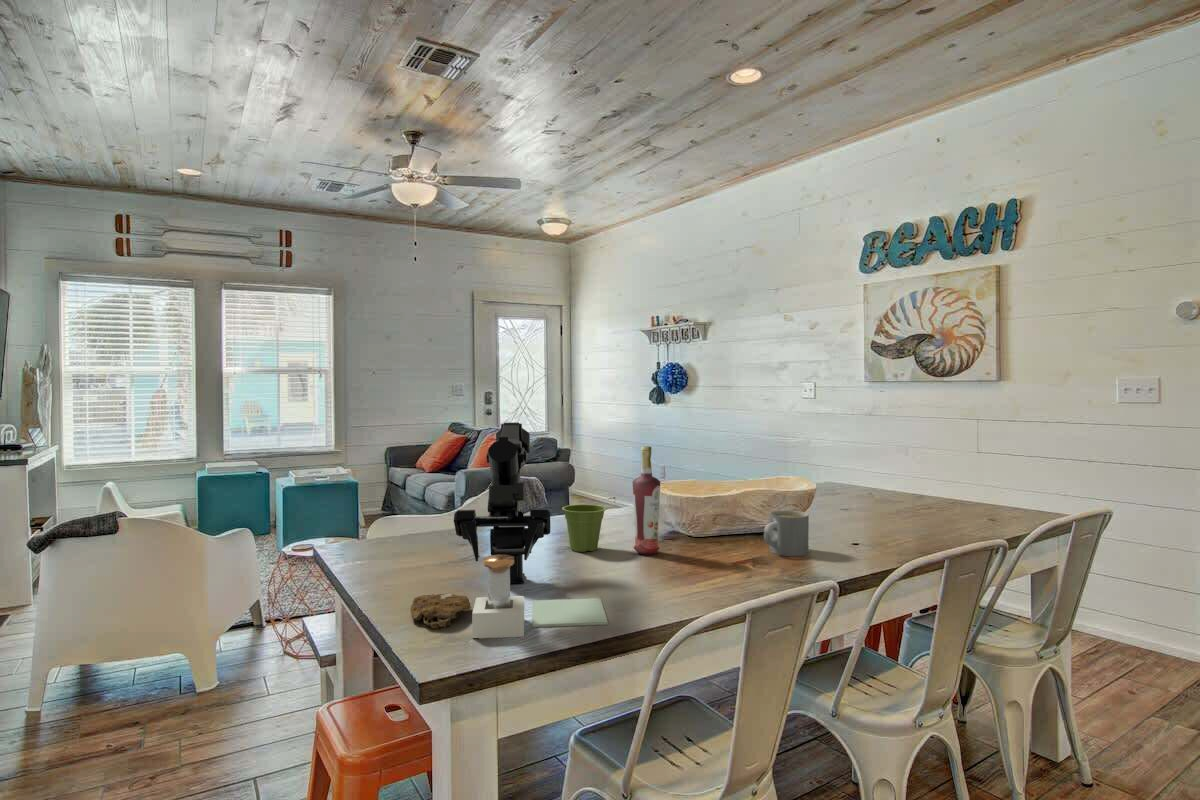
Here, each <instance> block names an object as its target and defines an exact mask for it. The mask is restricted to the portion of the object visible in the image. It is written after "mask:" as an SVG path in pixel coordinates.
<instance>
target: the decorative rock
mask: <svg viewBox="0 0 1200 800" xmlns="http://www.w3.org/2000/svg"><path fill="white" fill-rule="evenodd" d="M467 596H468V595H459V594H453V593H439V594H434V593H433V594H427V595H425V594H424V595H420V596H417V597H414V599H413V601H412V604H411V606H410V613H411V614H410V615H411V616H410V617H411V618H412V619H413V620H416V621H419V622H420V621H423V623H424V624H425V625H426V626H429V628H430V629H431V628H433V629H440V628H439V627H441V628H446V626H447V627H449V626H451V621H453V620H455V619H457V618H458V616H459V615H460V614H461V612H467V611H471V610H472V609H471V608H472V606H471V602H470V599H469V597H467Z"/></svg>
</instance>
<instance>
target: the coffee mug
mask: <svg viewBox="0 0 1200 800" xmlns="http://www.w3.org/2000/svg"><path fill="white" fill-rule="evenodd" d="M809 523H810V522H809V513H806V512H804V511H799V510H788V509H787V510H785V509H784V510H783V509H782V510H772V511H770V512H769V523H767V524H766V525H765V527H764V530H763V538H764V539H763V540H764V542H765V543H766V544H767V545H768V546H769V552H770V553H772V554H775V555H779V556H783V557H784V556H785V557H801V556H806V555H808V554H809V530H810V529H809V528H810V527H809V526H810V525H809Z"/></svg>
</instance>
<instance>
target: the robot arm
mask: <svg viewBox="0 0 1200 800" xmlns="http://www.w3.org/2000/svg"><path fill="white" fill-rule="evenodd" d="M528 454H531V436H530V432H529V431H527V430H526V429H524V428H523V425H522V423H521V422H518V421H517V422H503V423H500V429H499V430H498V431H497V432H496V433H495V440H494V441H493V442H492V443H491V445H489V447H488V449H487V453H486V463H487V465H489V469H490V470H489V471H490V474H491V483H490V484H491V485H489V486H488V501H487V513H488V515H477V513H476V509H457V510H456V512H454V514H453V524H454V530H455V534H456V536H458V537H462V539H463V540H467V541H468V543H469V544H470V547H471V550H472V553H473V556H474V560H475V562H478V561H479V558H480V557H479V540H478V539H479V538H478V527H481V528H482V527H489V528H490V527H491V528H490V532H489V541H490V542H489V545H490V556H491V555H510V556H513V557H514V565H512V566H510V584H524V583H525V577H526V575H525V574H526V573H524V569H523V568H524V567H523V566H524V564H523V563H524V561H527V560H528V558H529V556H530V555H531V554H532V549H533V548H534V546H535V544H536V543H537V542H538V540H539V539H543V538H544V537H545V535H546V536H548V535H550V534H551V511H550V509H549V508H547V507H546V508H545V507H544V508H530V510H529V511H530V513H529V515H524V513H523V511H521V510H520V504H521V503H520V502H521V501H524V500H525V482H521V472H522V471H521V470H522V469H523V467H524V466H525V465H526V463H528ZM523 559H524V560H523Z"/></svg>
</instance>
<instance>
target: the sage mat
mask: <svg viewBox="0 0 1200 800" xmlns="http://www.w3.org/2000/svg"><path fill="white" fill-rule="evenodd" d="M531 602H532V605H531V606H532V607H531V608H532V609H531V610H532V611H531V614H532V616H531V617H532V618H531V621H532V622H531V623H532V625H531V626H532V628H547V627H549V628H550V627H551V628H552V627H574V626H575V627H577V626H597V625H599V626H601V625H602V626H604V625H609V623H608V622H609V621H608V617H607V614H606V612H605V608H604V606H603V603H602V599H601V598H600V597H599V598H574V599H573V598H572V599H571V598H570V599H545V600H544V599H543V600H541V599H540V600H532V601H531Z"/></svg>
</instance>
